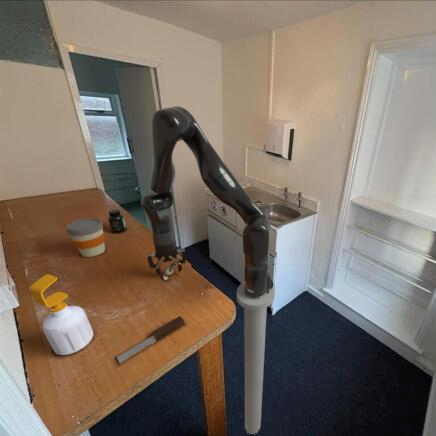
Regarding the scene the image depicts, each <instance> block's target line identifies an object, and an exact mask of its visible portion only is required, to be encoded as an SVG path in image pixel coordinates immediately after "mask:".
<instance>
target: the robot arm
mask: <svg viewBox="0 0 436 436" xmlns="http://www.w3.org/2000/svg"><path fill="white" fill-rule="evenodd" d="M151 141H152V142H151V143H152V144H151V145H152V166H151V173H150V180H149V188H150V190H151V192H152V193H148V194H145V195H143V196H142V198H141V200H140V205H141V207H142V209H143V211H144V212H145V215H146V216H147V218H148V220H149V221H150V222H149V223H150V227H151V231H152V241H153V246H154V251H155V253H150V252H149V253H148V254H147V263H148V266H149V268H150V269H151V270H152V269H155V272H156V275H158V276H161V275H162V270H161V265H162V263H167V262H173V263H174V264H176V265H177V271H178V273H181V271H182V270H183V267H182V264H186V249H185V248H182V249H177V245H176V238H175V237H176V236H175V233H174V230H173V229H174V228H173V222H172V218H171V216H170V215H169V214H165V213H160V212H162V211H165V210H167V209H170V208H172V206H173V205H174V201H175V199H174V191H173V186H174V182H175V177H176V167H175V165H174V161H173V153H174V150H175V147H176V145H177V143H178V142H180V141H183V142H184V143H185V145H186V146H187V147H188V148H189V150H190V151H191V153H192V154H193V156H194V158H195V161H196V163H197V167H198V170H199V175H200V177H201V179H202V182H203V183H204V185H205V186H206V187H207V188H208V189H209V191H210V193H212V195H213V196H214V197H215V198H216V199H218V200H219V201H220V202H221V203H223V204H225V205H226V206H228V207H230V208H231V209H232V210H234V211H235V212H236V213H237V214H238V215H239V217H240V218H241V220H242V221H243V222H244V224H245V225H244V228H243V231H242V252H243V256H244V281H245V290H244V292H245V295H246V296H247V297H248V298H250V299H261V298H263V297H264V296H266V294H269V288H270V289H272V288H273V286H274V287H275V283H274V282H273V280H272V278H271V275H270V272H269V267H270V265H269V264H270V250H269V249H270V235H271V230H272V223H271V221H270V219H269V217H268V216H266V214H265V213H264V212H263V211H262V210H261V209H260V208H259V207H258V205H256V204H255V203H254V201H253V200H252V198H251V197H250V196H249V194H248V193H247V191H246V190H245V189H244V187H243V186H242V185H241V184H240V182H239V180H238V179H237V178H236V176H235V175H234V174H233V172H232V170H231V169H230V168H229V167H228V166H227V164H226V163H225V162H224V161H223V159H222V158H221V157H220V155H219V154H218V152H217V151H216V149H215V148H214V147H213V146H212V144H211V143H210V141H209V140H208V138H207V136H206V135H205V133H204V132H203V130H202V128H201V127H200V125H199V123H198V121H197V120H196V119H195V117H194V116H193V114H192V113H191V112H190V111H189V110H188V109H186V108H184V107H182V106H180V105H179V106H171V107H164V108H161V109H158V110H156V111H155V112H154V113H153V115H152V118H151ZM159 213H160V214H159ZM178 255H180V256H181V259H180V258H179V256H178ZM155 258H156V259H157V261H156V263H155V262H154V259H155Z"/></svg>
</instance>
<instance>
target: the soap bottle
mask: <svg viewBox="0 0 436 436" xmlns="http://www.w3.org/2000/svg"><path fill="white" fill-rule="evenodd" d="M57 280H58V277H57V276H55V275H53V274H52V275H51V274H49V273H46V274H44V275H43V276H42V277H40V278H39V279H38V280H37V281H36V282H34V283H33V284H32V285H30V287H29V292H30V294H31V296H32V298H33V301H34V302H35V303H36V304H38V305H41V306H44V307H46V308H49V311H50V313H51V314H49V315H48V316H47V317H46V318H45V319H44V321H43V322H42V331H43V334H44V336H45V337H46V339H47V341H48V343H49V345H50V346H51V348H52V351H54V353H55V354H56V355H60V356H67V355H71V354H74V353H77V352H79V351H81V350H82V349H83V348H85V347H87V345H89V344H90V343H91V341H92V340H93V337H94V330H93V328H92V326H91V323H90V321H89V318H88V315H87V313H86V311H85V309H83V308H82V307H81V306H79V305H68V304H67V303H66V302H65V301H64V300H66V299H67V298H68V297H69V294H68V293H65V292H63V291H56V292H55V293H53V294H51V295H49V296H48V297H46V298H45V297H44V292H45V291H46V289H48V288H49V287H50V286H52V285H53V284H54V283H55V282H56V281H57Z"/></svg>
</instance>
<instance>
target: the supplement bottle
mask: <svg viewBox="0 0 436 436" xmlns="http://www.w3.org/2000/svg"><path fill="white" fill-rule="evenodd" d="M108 215H109V216H108V217H107V220H108V224H109V227H110V230H111V232H112V234H121V233H124V232H125V231H127V226H126V221H125V217H124V215H123V214H121V211H120V210H119V209H112V210H111V209H110V210H109V211H108Z"/></svg>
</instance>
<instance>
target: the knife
mask: <svg viewBox="0 0 436 436" xmlns="http://www.w3.org/2000/svg"><path fill="white" fill-rule="evenodd" d="M183 326H185V320H184V318H182V316H181V315H179V316H178V317H175V318H174V319H172V320H171V321H169V322H167V323H165V324H163V325H161V326H160V327H158V328H157V329H155V330H153V331H152V335H151V336H150V337H148V338H146V339H145V340H143V341H141V342H139V343H138V344H136V345H135V346H133V347H131V348H129V349H128V350H126V351H124V352H122V353H121V354H119V355H117V356H116V359H117V361H118V363H119V364H122V363H124V362H125V361H127V360H128V359H130V358H132V357H134V356H136V355H137V354H138V353H140V352H142V351H143V350H145V349H147V348H148V347H150V346H152V345H154V344H155V343H157V342H158V341H159V342H160V340H162V339H164V338H165V337H167V336H169V335H170V334H172V333H173V332H175V331H177V330H178V329H180V328H181V327H183Z"/></svg>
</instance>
